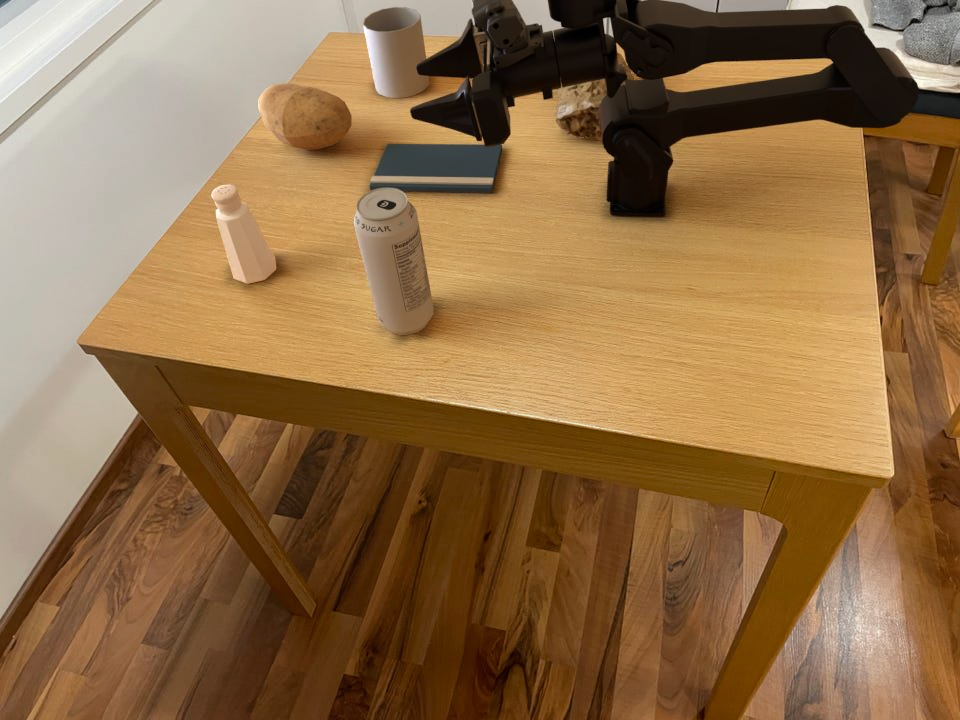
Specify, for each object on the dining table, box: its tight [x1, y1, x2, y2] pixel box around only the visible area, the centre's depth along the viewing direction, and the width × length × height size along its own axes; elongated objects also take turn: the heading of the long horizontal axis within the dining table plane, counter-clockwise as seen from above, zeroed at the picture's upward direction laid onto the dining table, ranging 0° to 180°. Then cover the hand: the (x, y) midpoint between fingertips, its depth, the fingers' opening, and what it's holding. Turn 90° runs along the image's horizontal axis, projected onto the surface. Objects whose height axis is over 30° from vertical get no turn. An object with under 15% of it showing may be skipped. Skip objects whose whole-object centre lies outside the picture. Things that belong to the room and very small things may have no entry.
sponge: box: [555, 51, 636, 142], centre depth 104 cm, size 13×8×20 cm
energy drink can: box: [353, 188, 435, 336], centre depth 74 cm, size 6×6×15 cm
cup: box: [362, 6, 430, 99], centre depth 112 cm, size 8×8×10 cm
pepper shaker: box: [210, 184, 277, 285], centre depth 84 cm, size 5×5×11 cm
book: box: [369, 143, 503, 194], centre depth 98 cm, size 16×10×1 cm, turn 81°
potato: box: [257, 82, 353, 151], centre depth 103 cm, size 10×14×8 cm
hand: (414, 91), depth 81 cm, fingers open, 9 cm apart
